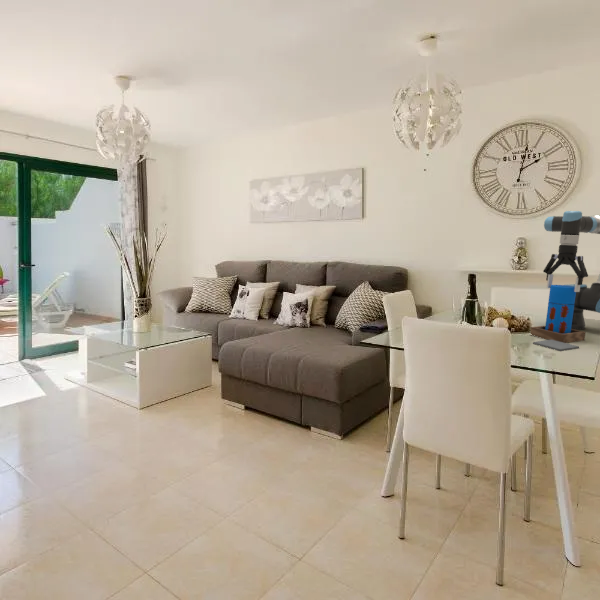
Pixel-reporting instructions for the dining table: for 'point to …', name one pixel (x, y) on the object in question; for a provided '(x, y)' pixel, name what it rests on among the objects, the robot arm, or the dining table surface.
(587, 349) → the dining table surface
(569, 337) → the tray
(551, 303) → the blue box
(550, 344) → the mat
